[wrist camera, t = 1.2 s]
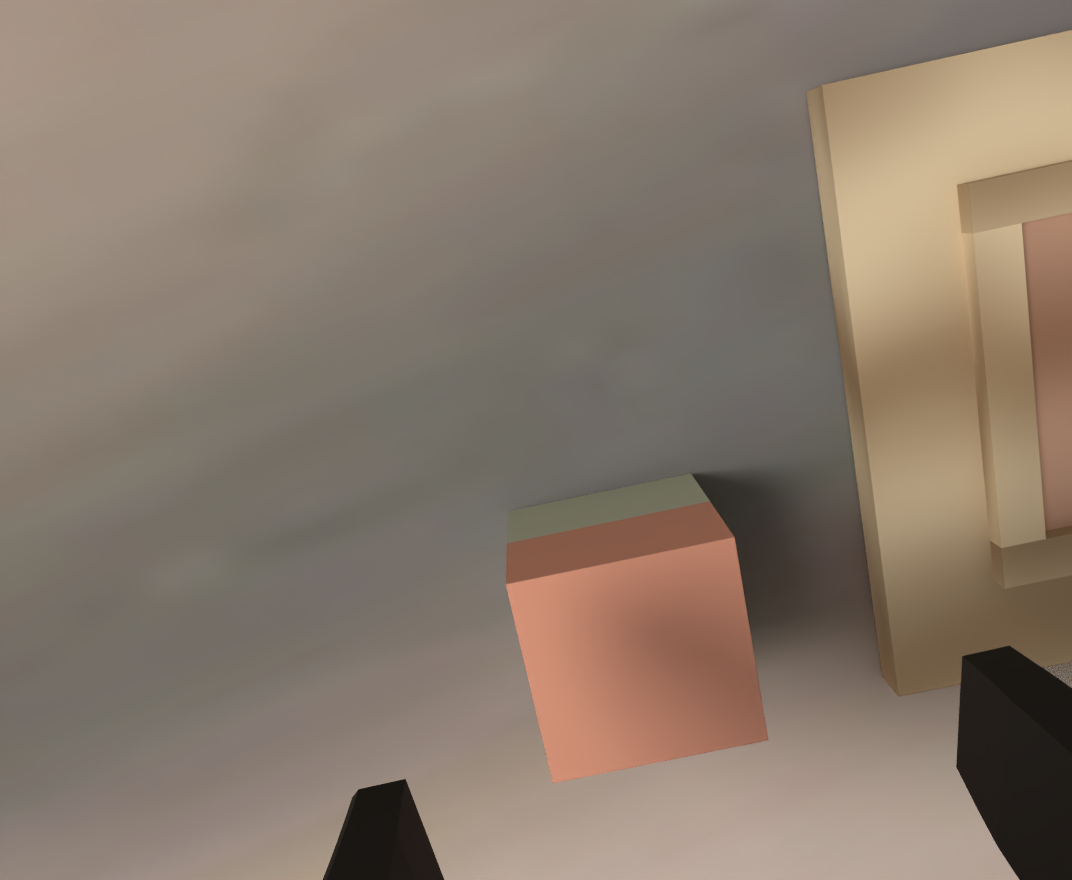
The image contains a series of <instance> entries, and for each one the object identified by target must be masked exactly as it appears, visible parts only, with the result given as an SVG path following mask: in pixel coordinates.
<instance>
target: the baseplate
mask: <svg viewBox="0 0 1072 880" xmlns="http://www.w3.org/2000/svg"><path fill="white" fill-rule="evenodd" d="M806 93H807V100H808V108H809V116H810V123H811V131H812V139H813V147H814V154H815V162H816V170H817V178H818V185H819V193H820V201H821V208H822V216H823V224H824V232H825V239H826V247H827V255H828V262H829V270H830V278H831V286H832V293H833V301H834V309H835V316H836V324H837V332H838V340H839V347H840V355H841V363H842V371H843V378H844V386H845V394H846V401H847V409H848V417H849V425H850V432H851V440H852V448H853V455H854V463H855V471H856V479H857V486H858V494H859V502H860V509H861V517H862V525H863V533H864V540H865V548H866V556H867V564H868V571H869V579H870V587H871V594H872V602H873V610H874V618H875V625H876V633H877V641H878V648H879V656H880V664H881V672H882V676H883V678H884V679H885V680H886V681H887V683H888V684H889V685H890V686H891V688H892V689H893V690H894V691H895V693H896V694H897V695H898V696H904V695H909V694H914V693H919V692H924V691H929V690H934V689H939V688H944V687H949V686H954V685H959V684H961V670H962V656H965V655H969V654H974V653H978V652H983V651H987V650H992V649H996V648H1001V647H1005V646H1011V647H1012V648H1014V649H1015V650H1017V651H1018V652H1020V653H1021V654H1023V655H1024V656H1026V657H1027V658H1029V659H1030V660H1032V661H1033V662H1035V663H1036V664H1037V665H1039V666H1040V667H1042V668H1044V667H1048V666H1053V665H1058V664H1063V663H1068V662H1072V30H1070V31H1065V32H1061V33H1056V34H1052V35H1047V36H1043V37H1038V38H1033V39H1029V40H1024V41H1020V42H1015V43H1011V44H1006V45H1002V46H997V47H993V48H988V49H984V50H979V51H975V52H970V53H965V54H961V55H956V56H952V57H947V58H943V59H938V60H934V61H929V62H925V63H920V64H916V65H911V66H907V67H902V68H898V69H893V70H888V71H884V72H879V73H875V74H870V75H866V76H861V77H857V78H852V79H848V80H843V81H839V82H834V83H830V84H825V85H821V86H819V87H817V88H814V89H812V90H809V91H807V92H806Z"/></svg>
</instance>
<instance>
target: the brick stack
mask: <svg viewBox="0 0 1072 880" xmlns="http://www.w3.org/2000/svg"><path fill="white" fill-rule="evenodd" d="M506 587H507V591H508V595H509V599H510V603H511V608H512V612H513V616H514V620H515V625H516V629H517V633H518V637H519V641H520V646H521V650H522V654H523V658H524V663H525V667H526V671H527V675H528V680H529V684H530V688H531V692H532V696H533V701H534V705H535V709H536V713H537V718H538V722H539V726H540V730H541V734H542V739H543V743H544V747H545V751H546V756H547V760H548V764H549V768H550V772H551V777H552V781H553V783H556V782H561V781H566V780H571V779H576V778H581V777H586V776H591V775H596V774H601V773H606V772H611V771H616V770H621V769H626V768H631V767H636V766H641V765H646V764H651V763H656V762H661V761H666V760H671V759H676V758H681V757H686V756H691V755H696V754H701V753H706V752H711V751H716V750H721V749H726V748H731V747H736V746H741V745H746V744H751V743H756V742H761V741H766V740H768V735H767V729H766V723H765V717H764V711H763V705H762V699H761V693H760V687H759V681H758V675H757V669H756V663H755V657H754V651H753V645H752V639H751V633H750V627H749V621H748V615H747V609H746V603H745V597H744V591H743V585H742V579H741V573H740V567H739V561H738V555H737V549H736V543H735V537H734V536H733V534H732V533H731V531H730V530H729V528H728V527H727V526H726V524H725V523H724V521H723V520H722V518H721V517H720V515H719V514H718V512H717V511H716V509H715V508H714V506H713V505H712V504H711V502H710V501H709V499H708V498H707V496H706V495H705V493H704V492H703V490H702V489H701V487H700V486H699V484H698V483H697V482H696V480H695V479H694V477H693V476H692V474H691V473H690V474H685V475H681V476H676V477H671V478H666V479H662V480H657V481H652V482H647V483H642V484H638V485H633V486H628V487H623V488H618V489H614V490H609V491H604V492H599V493H595V494H590V495H585V496H580V497H575V498H571V499H566V500H561V501H556V502H551V503H547V504H542V505H537V506H532V507H528V508H523V509H518V510H513V511H508V522H507V564H506Z"/></svg>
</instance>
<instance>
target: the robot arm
mask: <svg viewBox="0 0 1072 880" xmlns="http://www.w3.org/2000/svg"><path fill="white" fill-rule="evenodd" d="M956 767H957V769H958V771H959V773H960V775H961V777H962V779H963V781H964V783H965V785H966V787H967V789H968V791H969V793H970V795H971V797H972V799H973V801H974V803H975V805H976V807H977V809H978V811H979V813H980V814H981V816H982V818H983V820H984V822H985V824H986V826H987V827H988V829H989V831H990V833H991V835H992V837H993V839H994V841H995V842H996V844H997V846H998V848H999V849H1000V851H1001V852H1002V854H1003V855H1004V857H1005V858H1006V860H1007V861H1008V863H1009V864H1010V866H1011V867H1012V869H1013V870H1014V872H1015V873H1016V875H1017V876H1018V878H1019V879H1020V880H1072V688H1071V687H1069V686H1068V685H1067V684H1065V683H1064V682H1062V681H1061V680H1059V679H1058V678H1056V677H1055V676H1054V675H1052V674H1051V673H1049V672H1048V671H1046V670H1045V669H1043V668H1042V667H1040V666H1039V665H1037V664H1036V663H1035V662H1033V661H1032V660H1030V659H1029V658H1027V657H1026V656H1024V655H1023V654H1021V653H1020V652H1018V651H1017V650H1015V649H1014V648H1012V647H1011V646H1005V647H1001V648H996V649H992V650H987V651H983V652H978V653H974V654H969V655H965V656H962V670H961V689H960V709H959V728H958V747H957V766H956ZM323 880H444V878H443V875H442V873H441V870H440V868H439V865H438V862H437V860H436V857H435V855H434V852H433V849H432V847H431V844H430V842H429V839H428V836H427V834H426V831H425V829H424V826H423V823H422V821H421V818H420V816H419V813H418V810H417V808H416V805H415V803H414V800H413V797H412V795H411V792H410V790H409V787H408V784H407V782H406V779H404V780H399V781H395V782H390V783H385V784H381V785H376V786H372V787H367V788H363V789H359V790H358V791H357V792H356V794H355V795H354V796H353V797H352V800H351V803H350V806H349V809H348V812H347V815H346V818H345V821H344V824H343V827H342V830H341V832H340V835H339V838H338V841H337V844H336V846H335V849H334V852H333V854H332V857H331V860H330V862H329V865H328V868H327V870H326V873H325V875H324V878H323Z"/></svg>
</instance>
